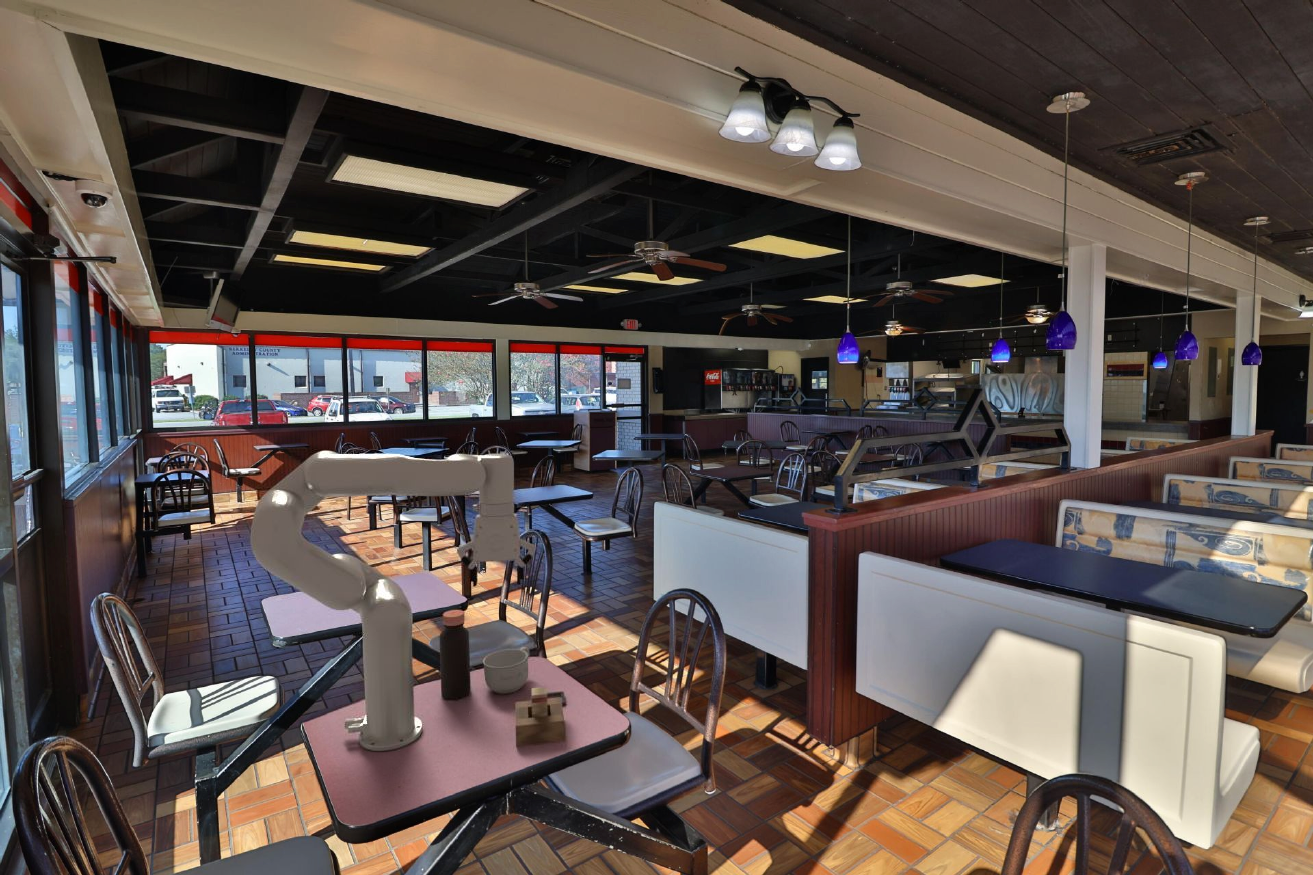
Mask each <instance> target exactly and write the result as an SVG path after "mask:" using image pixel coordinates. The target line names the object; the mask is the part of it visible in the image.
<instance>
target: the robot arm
mask: <svg viewBox="0 0 1313 875" xmlns="http://www.w3.org/2000/svg"><path fill="white" fill-rule="evenodd" d="M514 462H515V461H514V459H513V457H512V456H511V455H510V454H508V453H507V454H506V453H488V454H487V453H486V454H484V455H483V454H482V455H480V454H479V455H478V454H469V453H467V454H466V453H455V454H452V455H449V456H448V457H446V458H445V459H428V458H427V459H425V458H415V457H411V456H407V455H403V454H398V453H359V454H355V453H353V454H352V453H348V454H347V453H343V454H342V453H340V454H339V453H338V452H335V451H331V450H321V451H318V452H316V453H314V454H312V455H310V456H309V457H308V458H306V460H304V461H303V462H302V463H301V464H300V465H299V466H297V467H296V468H295V469H294V470H293V471H291V472H290V473H289V474H287V475H286V476H285V477H284V478H283V479H281V480H280V481H279V482H278V483H276V485H274V486H272V487H271V488H270V489H269V490H267V491H266V492H265V493H264V494H263V495H262V496H261V497H260V499H259V501H258V503H257V505H256V507H255V511H254V515H253V519H252V523H251V528H250V538H249V540H250V541H249V542H250V548H251V551H252V553H253V556H254V557H255V559H256V561H257V562H258V563H259V564H260V566H262V568H264V569H265V570H266V571H267V572H269V574H272V575H273V576H275V577H277V578H278V579H281V580H282V581H283V582H285V583H286V584H289V585H290V586H292V587H293V588H295V589H296V590H299V591H301V592H302V593H304V594H305V595H307V596H309V597H310V598H312V599H314V600H315V601H317V602H318V603H321V604H322V605H324V606H325V607H327V608H329V609H331V610H335V611H347V610H352V611H355V612H356V613H358V614H359V616H360V620H361V628H362V630H361V631H362V660H363V678H364V696H365V697H364V698H365V700H364V701H365V715H361V717H359V718H346V719H345V720H344V729H345V730H346V729H347V731H348V734H355V733H359V734H358V743H359V744H360V746H361V747H362V748H364V749H365V750H369V751H374V752H383V751H384V752H385V751H392V750H396V749H400V748H402V747H405V746H407V745H409V744H411V743H412V742H414V741H416V740H417V739H418V738H419V737H420V735H421V734H422V733H423V728H424V727H423V726H424V724H423V722H422V720H421V719H420V718H418V717H417V716H415V698H414V697H415V696H414V694H415V693H414V673H413V672H414V671H413V670H414V667H413V666H414V665H413V645H412V644H413V640H412V639H413V611H412V608H411V604H410V602H409V599H408V597H407V596H406V595H405V593H404V591H403V589H402V588H401V586H400V585H399V584H398V583H397V582H396V581H394V580H392V579H391V578H390V577H388V576H386V575H385V574H383V573H381V572H380V571H378V570H377V569H375V568H373V567H372V566H370V565H369V564H367V563H365V562H364V561H362V560H360V559H358V558H357V557H356V556H354V555H350V554H347V553H333V554H331V553H329V552H327V551H326V550H324V549H323V548H321V547H320V546H318V545H316V544H315V543H312V542H310V541H309V540H307V539H306V538H304V536H303V534H302V528H303V525H304V521H305V516H306V515H308V513H310V512H311V511H312V510H313V509H314V508H316V507H317V506H318V505H319V504H320V503H322V502H323V500H325V499H326V498H342V497H364V496H365V497H366V496H369V497H370V496H389V495H390V496H405V497H406V496H415V497H416V496H423V497H447V496H448V497H449V496H466V495H471V494H474V493H477V492H478V493H479V494H478V495H479V497H478V499H479V500H478V503H476V504H472V511H475V512H478V514H477V515H476V516H475V520H474V525H473V536H472V537H473V538H472V540H471V541H468V542H467V543H465V544H463V545H461V546H459V547H458V548H457V549H456V553H457V554H458V556H459V558H460V559H461V562H462V563H463V564H465V565H466V566H467V568H468V569H469V581H470V583H472V587H477V586H478V565H477V564H478V563H479V562H480V563H481V562H483V563H487V562H490V563H491V562H492V563H493V562H511V561H514V562H515V563H516V564H517V565H516V583H517V584H516V585H518V586H520V585H521V582H522V581H523V580H524V578H525V577H524V576H525V574H524V573H525V572H524V571H525V569H524V567H525V565H527V564H528V563H529V561H531V560H532V558H533V556H534V554H535V553H536V550H537V546H536V545H535V544H533V543H530V542H529V541H526V540H524V539H522V538H521V535H520V534H521V533H520V525H519V518H518V514H517V513H515V487H514V486H515V476H514V475H515V472H514V471H515V463H514ZM521 547H522V548H524V549H526V550H528V552H527V553H526V554H525V555H524V556H521V554H520V553H521ZM471 549H472V556H473V558H472V559H471V558H470V557H469V556H468V555H467V554H466V552H467V551H469V550H471Z"/></svg>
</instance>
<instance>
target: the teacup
mask: <svg viewBox="0 0 1313 875" xmlns="http://www.w3.org/2000/svg"><path fill="white" fill-rule="evenodd" d="M529 658H530V649H529V648H528V647H526V646H522V647H520V648H506V649H501V650H497V651H494V652H491V653H489V654H487V655H486V656H485V657H484V658H483V659H482V664H483V669H484V670H483V671H484V673H483V674H484V681H485V684H486V686H487V687H488V688H489V689H490V690H491V691H493V692H495V693H497V694H502V695H504V694H506V695H507V694H511V693H514V692H517V691H518V690H520V689H521V688H522V686H524V685H525V684H526V682H527V681H528V678H529Z"/></svg>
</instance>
